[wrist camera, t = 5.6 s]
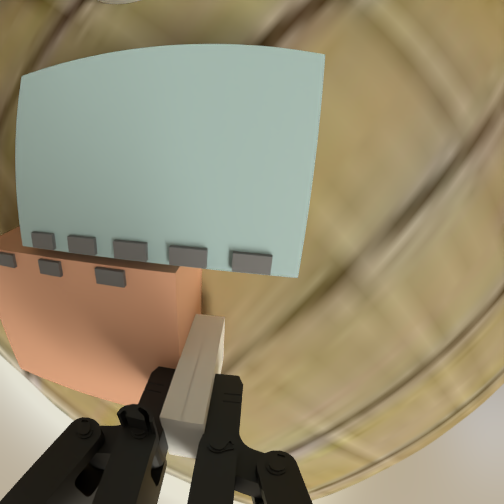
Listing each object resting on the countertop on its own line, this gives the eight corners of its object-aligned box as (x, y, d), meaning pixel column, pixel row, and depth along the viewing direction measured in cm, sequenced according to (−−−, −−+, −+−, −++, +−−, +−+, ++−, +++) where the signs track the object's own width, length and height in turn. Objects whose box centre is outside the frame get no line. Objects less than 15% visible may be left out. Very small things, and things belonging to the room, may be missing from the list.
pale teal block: (84, 87, 11) (18, 75, 7) (302, 85, 11) (326, 52, 7) (81, 214, 14) (19, 247, 9) (285, 231, 14) (298, 280, 9)
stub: (35, 218, 14) (-22, 247, 9) (203, 229, 14) (173, 275, 9) (57, 326, 17) (19, 370, 12) (202, 355, 17) (185, 420, 12)
